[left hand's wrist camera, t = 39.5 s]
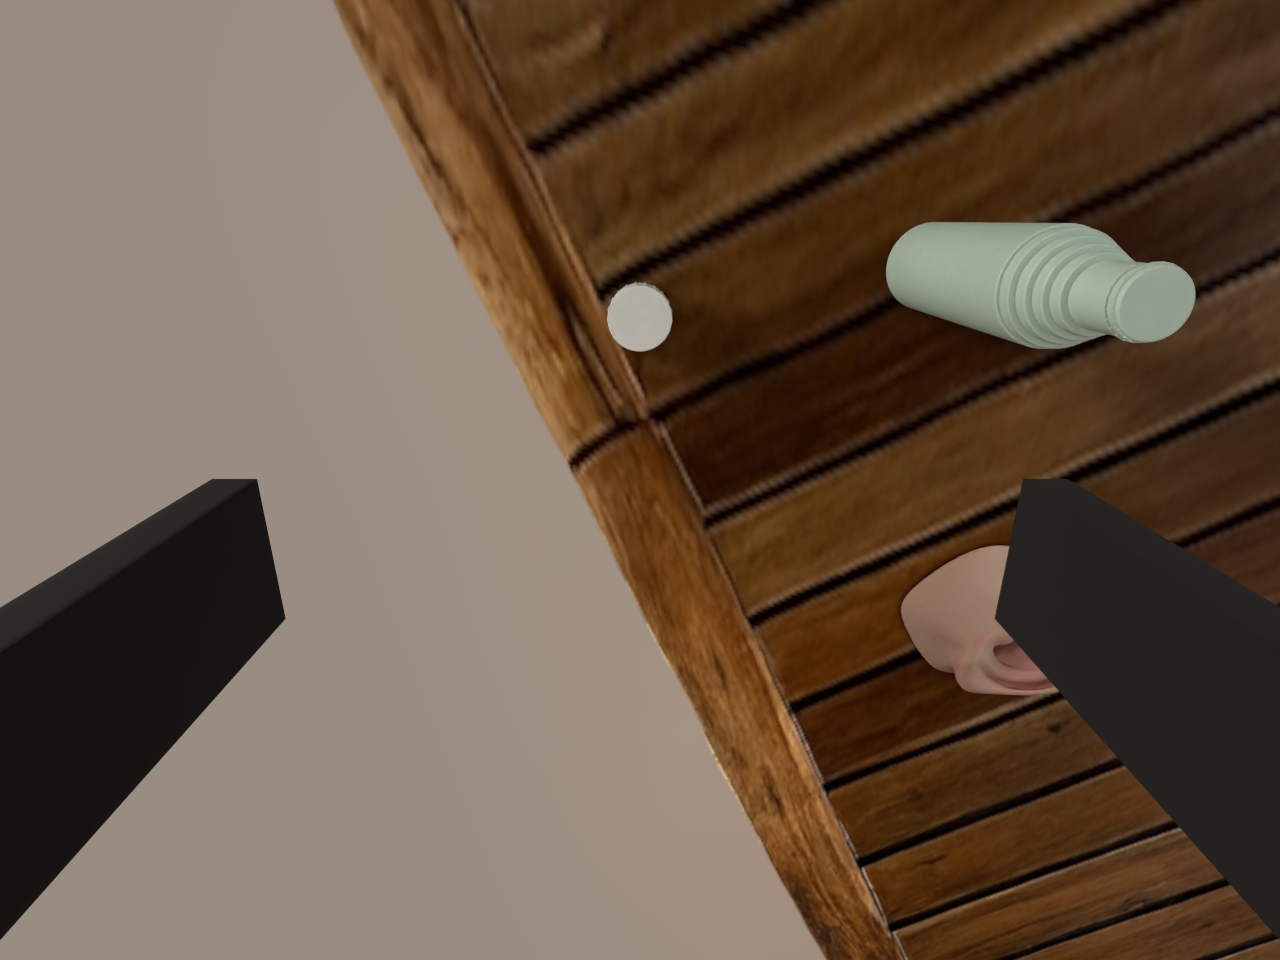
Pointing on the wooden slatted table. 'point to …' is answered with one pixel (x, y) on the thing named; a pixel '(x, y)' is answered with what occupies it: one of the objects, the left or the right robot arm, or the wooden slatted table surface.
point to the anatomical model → (970, 627)
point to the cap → (639, 317)
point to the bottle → (1037, 283)
